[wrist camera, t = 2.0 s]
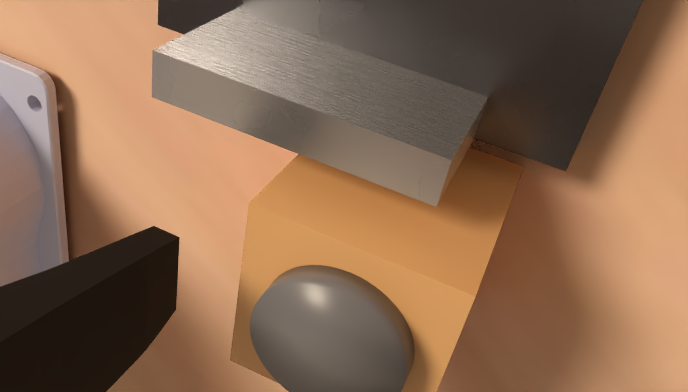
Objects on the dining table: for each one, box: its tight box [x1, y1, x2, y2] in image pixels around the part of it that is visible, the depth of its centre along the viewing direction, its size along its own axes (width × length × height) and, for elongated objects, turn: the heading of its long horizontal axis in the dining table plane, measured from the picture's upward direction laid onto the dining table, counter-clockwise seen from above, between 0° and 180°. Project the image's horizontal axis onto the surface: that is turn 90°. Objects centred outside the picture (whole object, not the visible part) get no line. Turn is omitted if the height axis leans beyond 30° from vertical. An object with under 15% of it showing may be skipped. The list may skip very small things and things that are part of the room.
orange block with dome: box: [230, 147, 524, 392], centre depth 15 cm, size 4×4×6 cm
